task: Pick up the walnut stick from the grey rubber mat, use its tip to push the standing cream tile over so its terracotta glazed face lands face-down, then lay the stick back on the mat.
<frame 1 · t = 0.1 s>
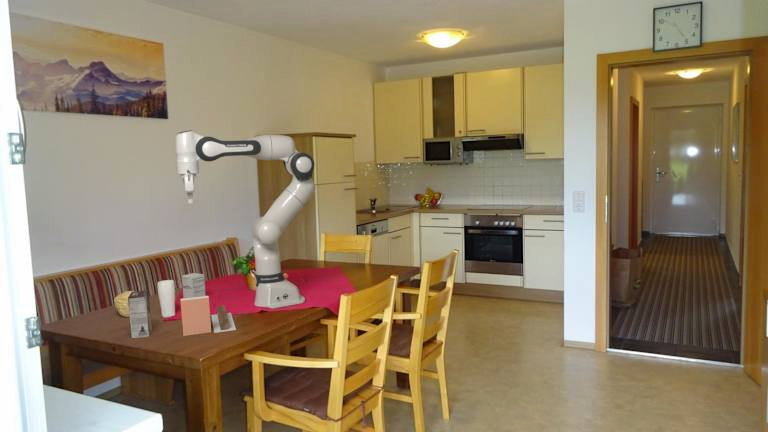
hand: (190, 202, 238), 48 cm above the table, tool pointing down, fingers open, 8 cm apart
drinking glass: (168, 316, 239), on the table
supplement box: (194, 301, 263), on the table
tile: (197, 334, 212), on the table
sculpture: (132, 315, 243), on the table
coffee box: (142, 334, 215), on the table
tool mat: (223, 323, 225), on the table
stick: (223, 322, 225), point 1 cm above the table, touching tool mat
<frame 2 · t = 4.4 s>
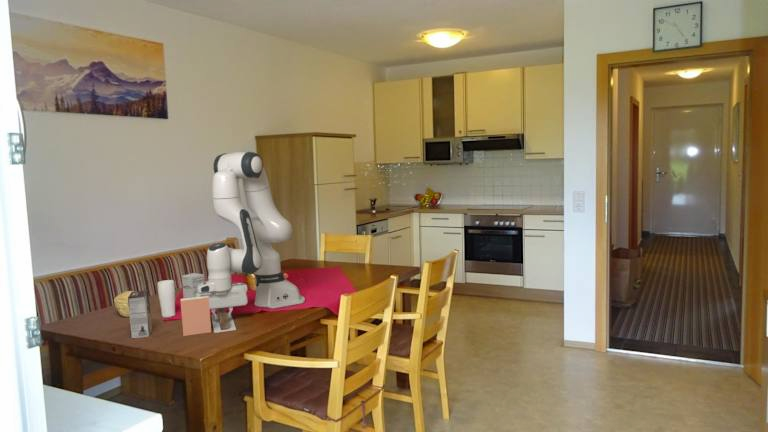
hand: (222, 318, 225), 2 cm above the table, tool pointing down, fingers closed on stick, 3 cm apart
stick: (223, 322, 225), point 1 cm above the table, touching gripper, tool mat
everything else where it was.
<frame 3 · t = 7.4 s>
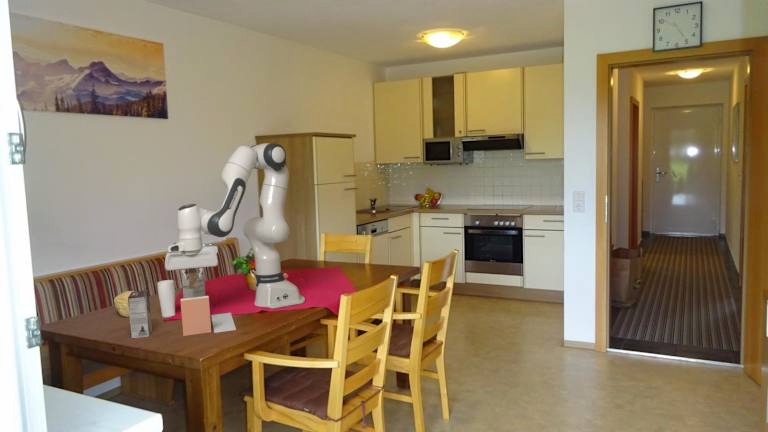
hand: (192, 279, 226), 18 cm above the table, tool pointing down, fingers closed on stick, 3 cm apart
stick: (193, 282, 226), point 17 cm above the table, touching gripper
everything else where it was.
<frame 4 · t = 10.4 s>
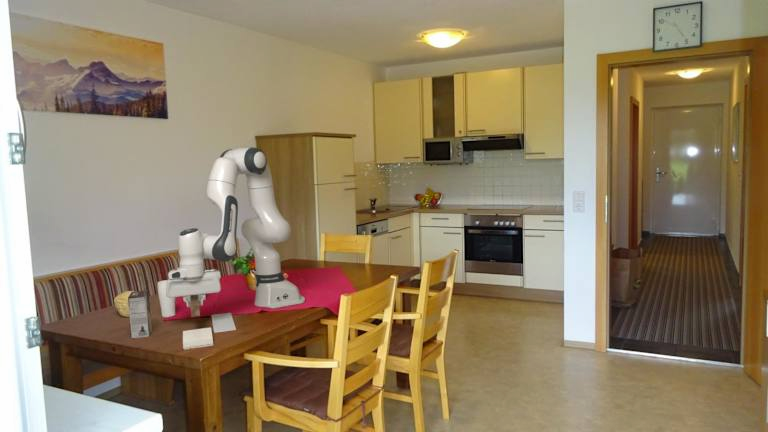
hand: (194, 305, 218), 9 cm above the table, tool pointing down, fingers closed on stick, 3 cm apart
tile: (197, 333, 211), point 1 cm above the table, tilted 90°
stick: (195, 309, 218), point 8 cm above the table, touching gripper
everything else where it was.
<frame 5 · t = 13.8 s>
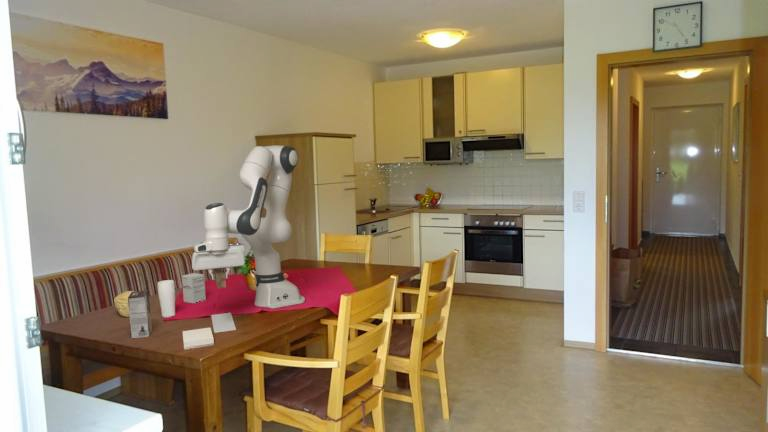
hand: (219, 279, 223), 18 cm above the table, tool pointing down, fingers closed on stick, 3 cm apart
stick: (220, 282, 223), point 17 cm above the table, touching gripper
everything else where it was.
when the fingers open (3 cm above the table, at t = 16.6 s): stick drops 1 cm, resting on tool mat.
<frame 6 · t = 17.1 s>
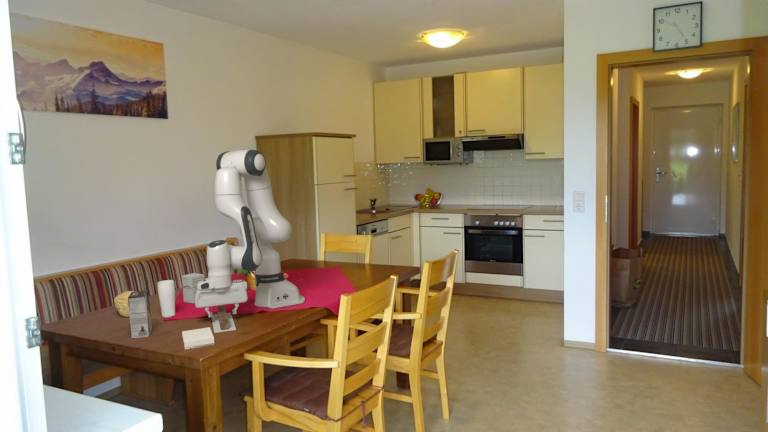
hand: (222, 315, 225), 3 cm above the table, tool pointing down, fingers open, 8 cm apart
stick: (223, 322, 225), point 1 cm above the table, touching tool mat
everything else where it was.
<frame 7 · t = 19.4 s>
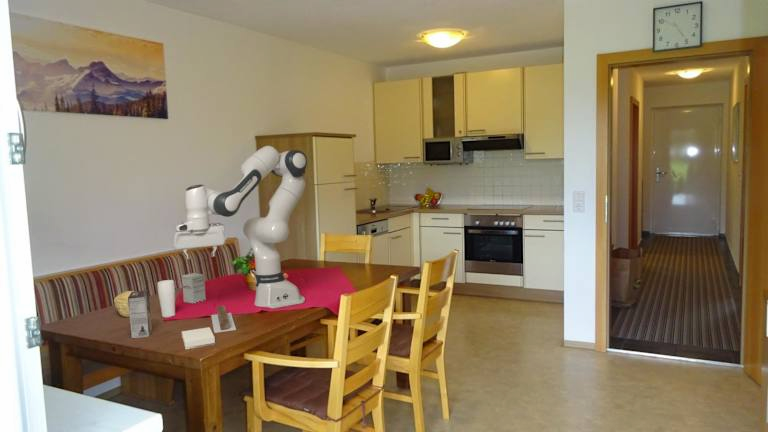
hand: (200, 257, 232), 25 cm above the table, tool pointing down, fingers open, 8 cm apart
nothing on the table moved.
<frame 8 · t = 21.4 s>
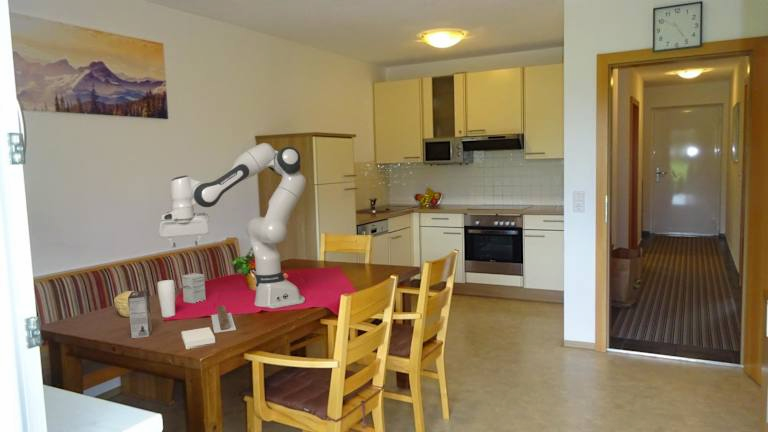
hand: (185, 246, 240), 29 cm above the table, tool pointing down, fingers open, 8 cm apart
nothing on the table moved.
at the end: tile tilted 90°; tile inside the target area (0.7 cm from its centre), point 1.0 cm above the table; stick inside the target area on the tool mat (0.1 cm from its centre), point 0.6 cm above the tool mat's base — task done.
